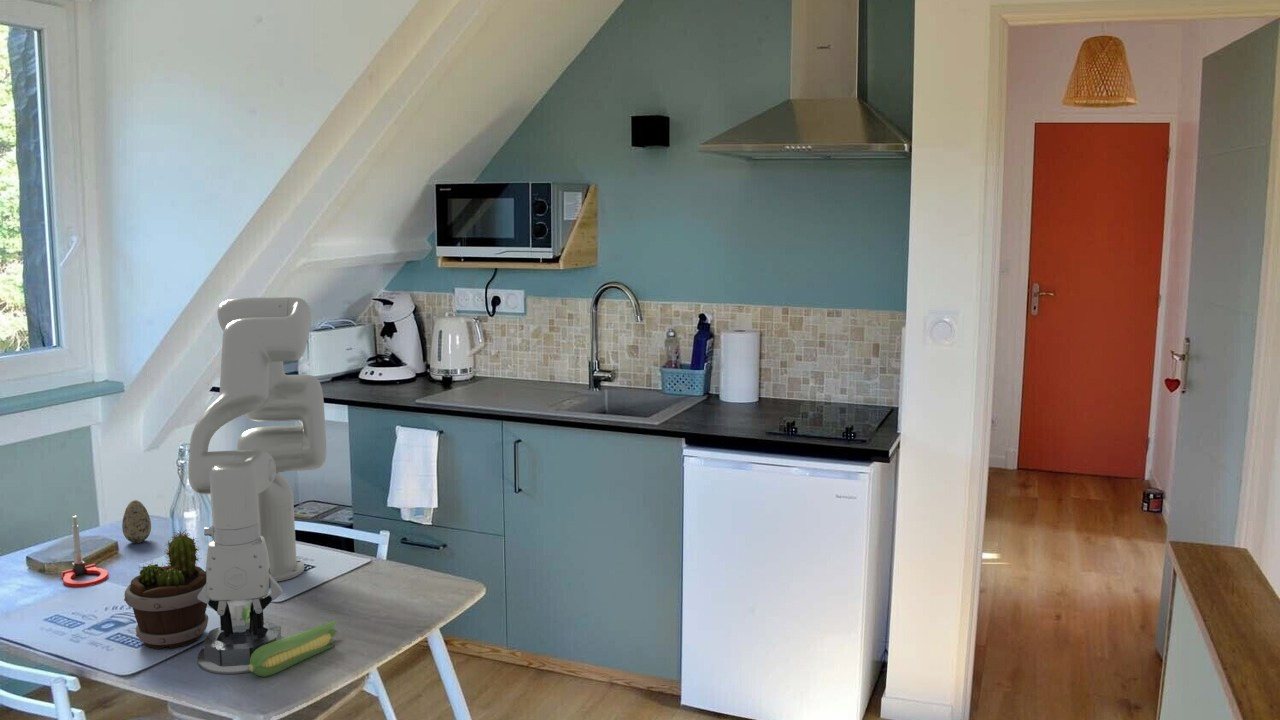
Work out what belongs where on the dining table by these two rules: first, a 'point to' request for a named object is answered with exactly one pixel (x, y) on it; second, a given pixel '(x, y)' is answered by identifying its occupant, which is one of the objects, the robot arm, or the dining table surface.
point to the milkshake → (241, 620)
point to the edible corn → (291, 650)
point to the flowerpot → (170, 597)
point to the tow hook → (81, 565)
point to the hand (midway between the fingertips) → (242, 632)
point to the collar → (233, 650)
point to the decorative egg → (136, 522)
